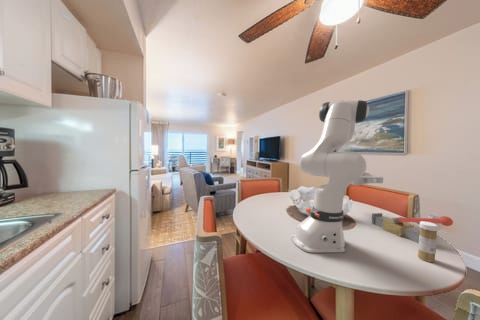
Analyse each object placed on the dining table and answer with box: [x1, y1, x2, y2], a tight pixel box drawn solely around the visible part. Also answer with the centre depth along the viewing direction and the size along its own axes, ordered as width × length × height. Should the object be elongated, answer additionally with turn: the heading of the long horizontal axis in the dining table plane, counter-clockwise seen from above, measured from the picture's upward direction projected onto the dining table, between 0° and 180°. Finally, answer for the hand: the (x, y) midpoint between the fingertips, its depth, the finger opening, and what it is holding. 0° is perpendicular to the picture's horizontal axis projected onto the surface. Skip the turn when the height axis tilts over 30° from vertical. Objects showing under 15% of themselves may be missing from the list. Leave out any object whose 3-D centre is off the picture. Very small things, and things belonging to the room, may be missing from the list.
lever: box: [392, 215, 454, 227], centre depth 77 cm, size 4×4×21 cm
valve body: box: [371, 212, 420, 245], centre depth 86 cm, size 8×22×5 cm, turn 13°
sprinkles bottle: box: [417, 221, 439, 263], centre depth 65 cm, size 5×5×14 cm
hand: (378, 181), depth 94 cm, fingers closed
